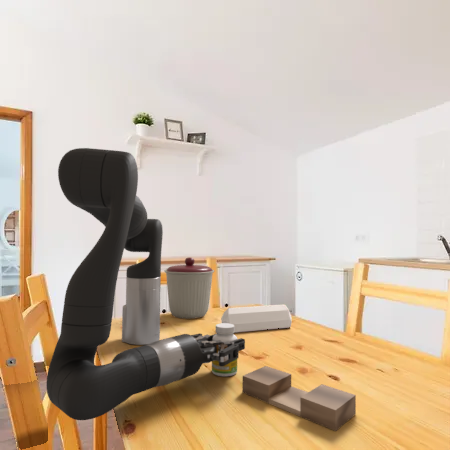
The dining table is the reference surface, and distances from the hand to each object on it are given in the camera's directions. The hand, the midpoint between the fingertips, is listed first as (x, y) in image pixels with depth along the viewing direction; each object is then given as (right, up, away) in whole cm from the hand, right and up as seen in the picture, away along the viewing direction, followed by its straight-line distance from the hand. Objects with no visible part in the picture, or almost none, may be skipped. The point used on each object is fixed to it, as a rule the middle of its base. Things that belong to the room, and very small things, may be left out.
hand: (232, 340), depth 75 cm
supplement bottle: (-2, -6, -2) cm, 7 cm away
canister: (-15, -8, +50) cm, 53 cm away
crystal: (+8, -8, +34) cm, 36 cm away
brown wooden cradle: (+10, -6, -15) cm, 19 cm away
